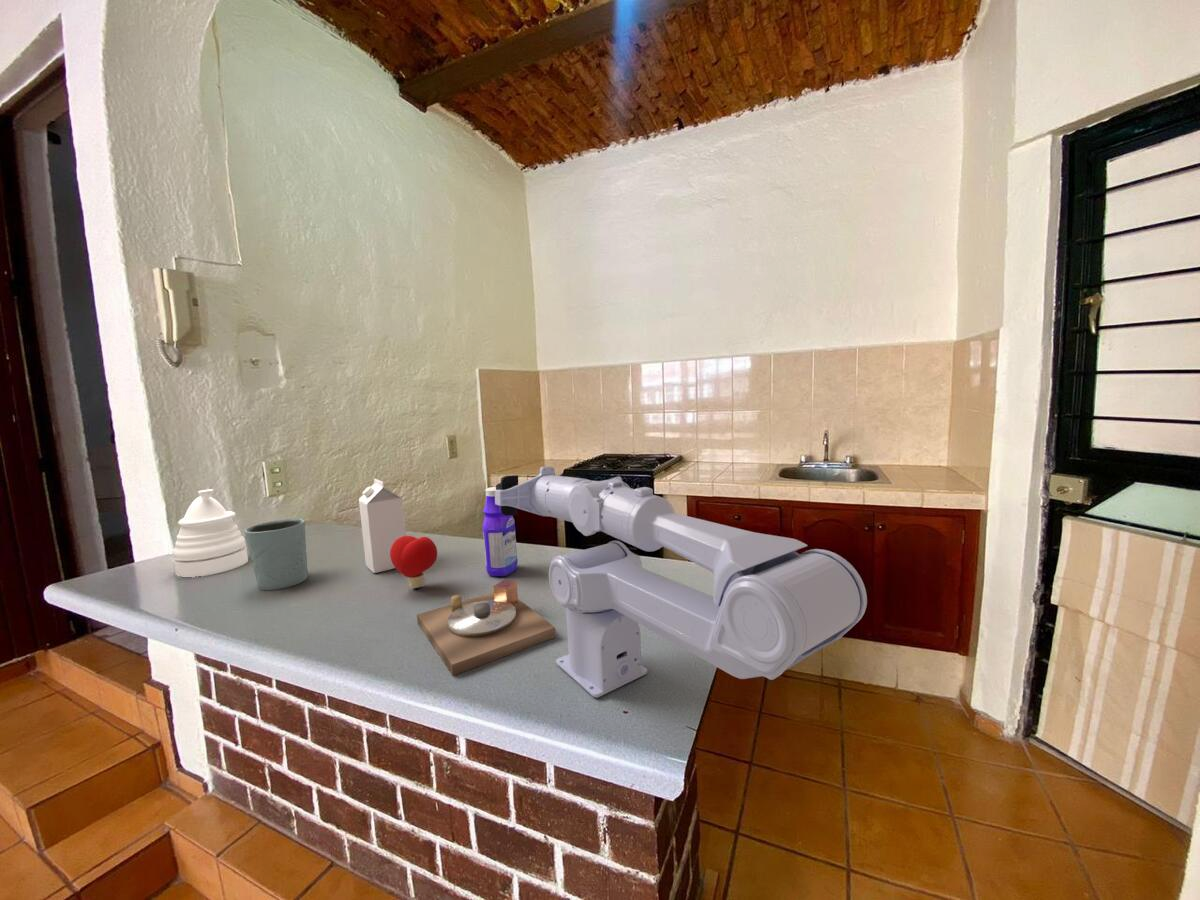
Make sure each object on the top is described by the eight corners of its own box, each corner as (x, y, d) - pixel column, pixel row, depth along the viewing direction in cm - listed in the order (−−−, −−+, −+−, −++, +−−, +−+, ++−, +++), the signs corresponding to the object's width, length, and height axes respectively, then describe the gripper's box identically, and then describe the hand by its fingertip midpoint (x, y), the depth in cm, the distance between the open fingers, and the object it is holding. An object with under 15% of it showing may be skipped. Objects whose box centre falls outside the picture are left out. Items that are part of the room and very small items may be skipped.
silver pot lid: (488, 642, 64) (486, 618, 64) (433, 629, 68) (431, 607, 68) (537, 604, 75) (536, 583, 75) (488, 595, 80) (486, 576, 79)
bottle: (508, 579, 91) (502, 491, 89) (481, 578, 92) (474, 491, 90) (522, 565, 98) (516, 484, 96) (496, 565, 99) (490, 484, 97)
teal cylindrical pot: (289, 591, 90) (282, 530, 89) (238, 593, 90) (230, 533, 89) (322, 571, 100) (315, 517, 99) (276, 573, 101) (268, 519, 99)
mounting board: (555, 636, 68) (554, 612, 67) (452, 675, 59) (450, 647, 59) (505, 597, 83) (504, 576, 82) (417, 623, 74) (415, 600, 74)
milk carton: (399, 557, 107) (391, 476, 105) (409, 565, 101) (400, 479, 99) (365, 566, 102) (356, 481, 100) (374, 574, 97) (364, 484, 95)
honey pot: (258, 562, 109) (248, 486, 107) (188, 581, 98) (175, 498, 96) (234, 554, 116) (224, 483, 114) (166, 572, 105) (154, 493, 103)
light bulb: (383, 593, 87) (378, 541, 85) (410, 579, 93) (405, 530, 92) (424, 598, 84) (419, 544, 82) (449, 583, 90) (444, 533, 89)
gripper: (607, 466, 67) (560, 463, 78) (513, 470, 58) (476, 465, 70) (608, 515, 67) (561, 505, 78) (513, 526, 58) (476, 512, 70)
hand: (521, 489), depth 74 cm, fingers open, 7 cm apart
